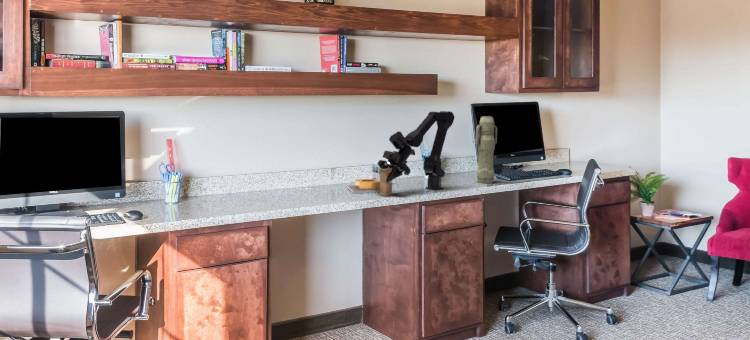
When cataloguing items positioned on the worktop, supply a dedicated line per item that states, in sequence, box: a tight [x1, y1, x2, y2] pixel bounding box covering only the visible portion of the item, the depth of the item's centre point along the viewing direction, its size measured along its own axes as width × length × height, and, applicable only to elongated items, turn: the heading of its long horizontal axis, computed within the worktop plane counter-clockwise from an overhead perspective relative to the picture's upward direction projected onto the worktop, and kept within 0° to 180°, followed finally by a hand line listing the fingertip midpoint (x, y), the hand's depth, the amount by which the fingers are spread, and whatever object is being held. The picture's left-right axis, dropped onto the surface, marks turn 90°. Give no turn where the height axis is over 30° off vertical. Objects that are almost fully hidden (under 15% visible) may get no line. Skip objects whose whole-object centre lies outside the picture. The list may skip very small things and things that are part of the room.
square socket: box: [346, 178, 380, 194], centre depth 342 cm, size 18×18×5 cm
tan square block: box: [379, 169, 393, 196], centre depth 328 cm, size 4×4×12 cm
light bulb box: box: [371, 161, 396, 184], centre depth 367 cm, size 11×7×11 cm, turn 123°
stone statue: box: [475, 115, 498, 185], centre depth 370 cm, size 9×12×35 cm
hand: (383, 180), depth 327 cm, fingers closed on tan square block, 4 cm apart
